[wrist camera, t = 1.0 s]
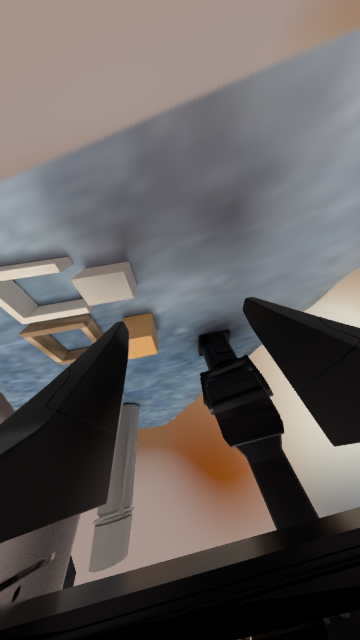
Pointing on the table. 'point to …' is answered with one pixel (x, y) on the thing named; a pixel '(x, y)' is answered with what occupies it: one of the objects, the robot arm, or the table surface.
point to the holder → (47, 343)
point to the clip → (22, 306)
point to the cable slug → (106, 283)
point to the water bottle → (117, 498)
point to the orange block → (141, 335)
